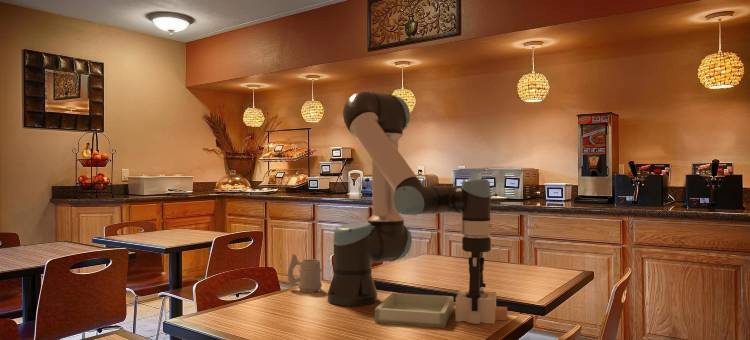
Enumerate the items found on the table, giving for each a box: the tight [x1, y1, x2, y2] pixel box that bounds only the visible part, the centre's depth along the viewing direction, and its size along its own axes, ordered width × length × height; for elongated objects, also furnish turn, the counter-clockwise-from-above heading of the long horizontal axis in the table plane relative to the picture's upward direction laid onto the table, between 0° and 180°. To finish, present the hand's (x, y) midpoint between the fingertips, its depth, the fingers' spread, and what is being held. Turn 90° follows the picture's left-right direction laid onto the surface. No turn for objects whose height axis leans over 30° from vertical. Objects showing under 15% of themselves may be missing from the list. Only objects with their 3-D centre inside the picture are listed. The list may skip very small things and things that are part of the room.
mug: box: [287, 253, 323, 293], centre depth 175 cm, size 8×12×12 cm, turn 80°
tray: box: [374, 292, 455, 329], centre depth 143 cm, size 18×20×4 cm
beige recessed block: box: [455, 289, 508, 324], centre depth 140 cm, size 13×10×6 cm
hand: (476, 317), depth 140 cm, fingers open, 12 cm apart
